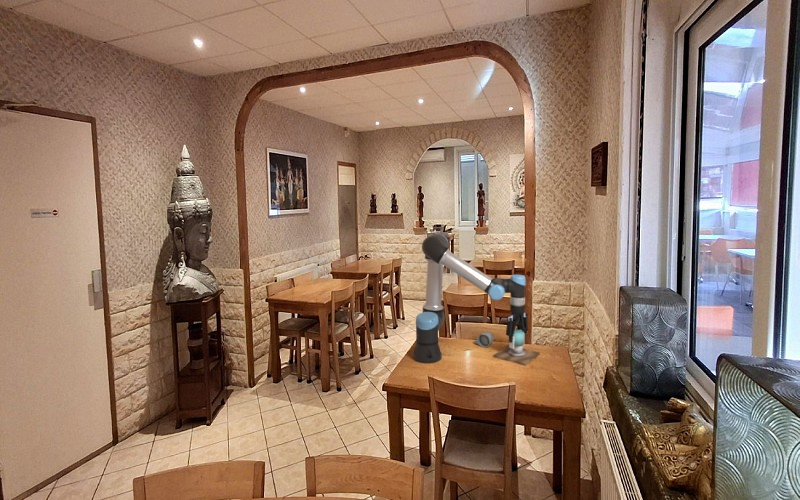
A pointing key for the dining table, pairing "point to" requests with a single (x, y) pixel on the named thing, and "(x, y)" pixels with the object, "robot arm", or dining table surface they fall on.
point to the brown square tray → (516, 355)
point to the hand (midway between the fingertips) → (516, 346)
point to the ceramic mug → (484, 339)
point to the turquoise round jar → (518, 338)
